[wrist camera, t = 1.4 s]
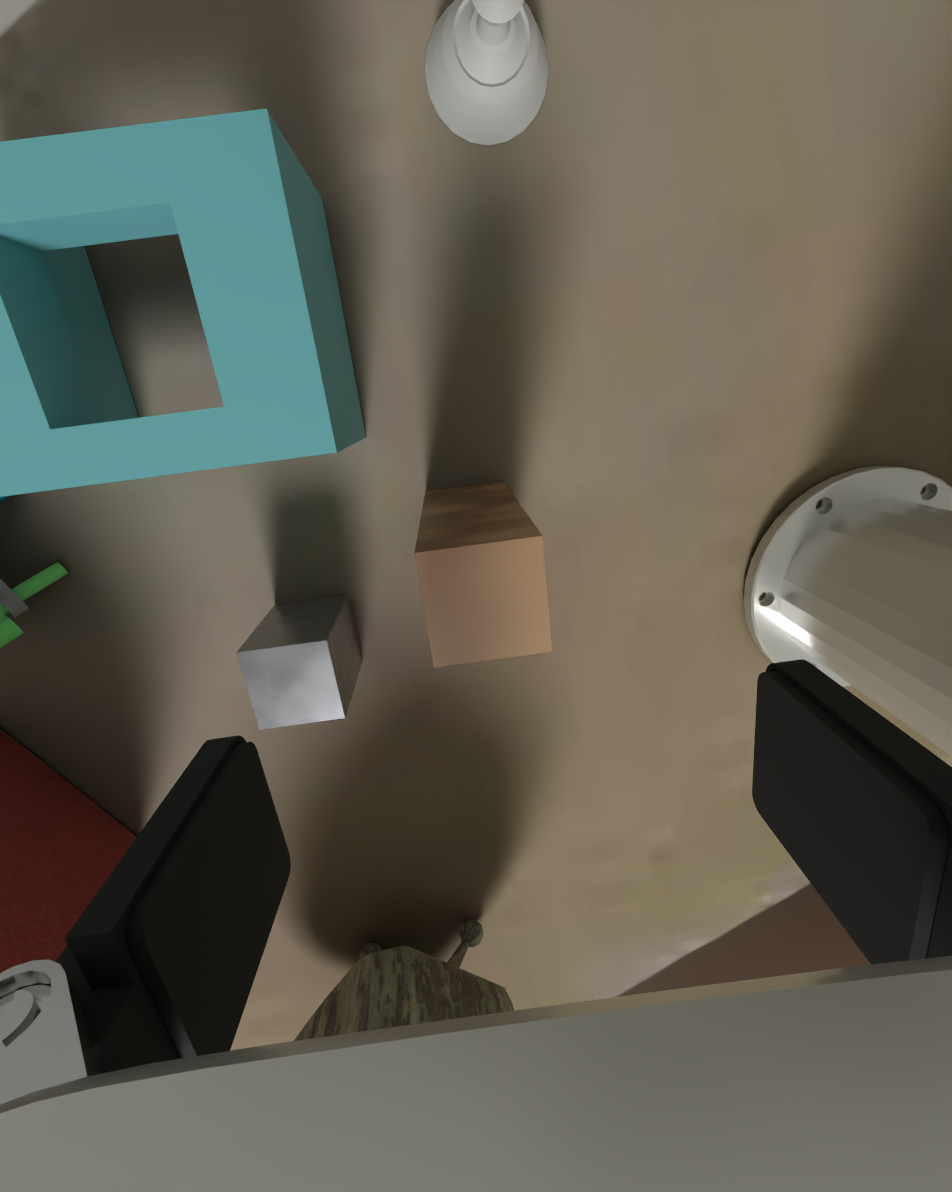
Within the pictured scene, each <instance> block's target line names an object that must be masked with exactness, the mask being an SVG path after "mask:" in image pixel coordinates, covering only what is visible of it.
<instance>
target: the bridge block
mask: <svg viewBox="0 0 952 1192" xmlns="http://www.w3.org/2000/svg"><path fill="white" fill-rule="evenodd" d="M173 234H179V238H180V242H181V246H182V250H183V253H184V257H185V261H186V265H187V268H188V272H189V276H190V280H191V284H192V287H193V291H194V295H195V299H196V303H197V306H198V310H199V314H200V318H201V322H202V325H203V329H204V333H205V337H206V340H207V344H208V348H209V352H210V356H211V359H212V363H213V367H214V371H215V375H216V378H217V382H218V386H219V390H220V394H221V397H222V401H223V405H224V407H218V408H210V409H202V410H195V411H187V412H179V413H172V414H164V415H156V416H149V417H141V418H139V417H138V414H137V411H136V408H135V404H134V401H133V398H132V395H131V392H130V389H129V385H128V382H127V379H126V376H125V373H124V370H123V366H122V363H121V360H120V357H119V354H118V351H117V347H116V344H115V341H114V338H113V335H112V332H111V328H110V325H109V322H108V319H107V316H106V313H105V309H104V306H103V303H102V300H101V297H100V294H99V290H98V287H97V284H96V281H95V278H94V275H93V271H92V268H91V265H90V262H89V259H88V256H87V252H86V249H85V246H87V245H94V244H102V243H110V242H118V241H126V240H134V239H142V238H149V237H157V236H165V235H173ZM364 438H366V434H365V429H364V424H363V418H362V413H361V407H360V402H359V396H358V391H357V386H356V380H355V375H354V369H353V364H352V358H351V353H350V347H349V342H348V337H347V331H346V326H345V320H344V315H343V309H342V304H341V299H340V293H339V288H338V282H337V277H336V271H335V266H334V261H333V255H332V250H331V244H330V239H329V233H328V228H327V223H326V217H325V212H324V206H323V201H322V198H321V196H320V195H319V193H318V191H317V190H316V188H315V186H314V185H313V183H312V181H311V180H310V178H309V177H308V175H307V173H306V172H305V170H304V168H303V167H302V165H301V163H300V162H299V160H298V159H297V157H296V155H295V154H294V152H293V150H292V149H291V147H290V145H289V144H288V142H287V141H286V139H285V137H284V136H283V134H282V132H281V131H280V129H279V127H278V126H277V124H276V123H275V121H274V119H273V118H272V116H271V114H270V113H269V111H268V109H267V108H266V109H258V110H250V111H242V112H234V113H226V114H218V115H210V116H202V117H194V118H186V119H178V120H170V121H162V122H154V123H146V124H138V125H130V126H122V127H114V128H106V129H98V130H90V131H82V132H74V133H66V134H58V135H50V136H42V137H34V138H26V139H18V140H10V141H2V142H0V497H3V496H11V495H18V494H26V493H33V492H41V491H49V490H56V489H64V488H71V487H79V486H87V485H94V484H102V483H109V482H117V481H125V480H132V479H140V478H147V477H155V476H163V475H170V474H178V473H185V472H193V471H201V470H208V469H216V468H223V467H231V466H239V465H246V464H254V463H261V462H269V461H276V460H284V459H292V458H299V457H307V456H314V455H322V454H330V453H337V452H339V451H341V450H343V449H345V448H346V447H348V446H350V445H352V444H354V443H356V442H358V441H360V440H362V439H364Z"/></svg>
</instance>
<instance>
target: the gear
mask: <svg viewBox="0 0 952 1192" xmlns="http://www.w3.org/2000/svg"><path fill="white" fill-rule="evenodd" d="M7 497H9V496H3V497H0V501H1V500H3V499H5V498H7ZM66 574H68V572H67V571H66V570H65V568H64V567H63V566H62V565H61V564H59V563H58V562H56V563H55V564H53V565H51V566H50V567H48V568H46V569H45V570H43V571H41V572H40V573H38V574H36V575H35V576H33V577H31V578H29V579H28V580H26V581H24V582H23V583H21V584H19V585H18V586H16V587H14V588H13V589H10V588H9V587H8V586H7V585H6V584H5V583H4V582H3V581H2V580H1V579H0V648H2V647H3V646H5V645H6V644H8V643H9V642H11V641H12V640H14V639H15V638H17V637H19V636H20V635H22V634H23V633H24V632H23V631H22V630H21V629H20V628H19V627H18V626H17V625H16V624H15V623H14V622H13V621H12V620H11V619H9V618H8V617H7V616H6V615H7V614H10V615H11V616H12V617H13V618H15V617H17V616H18V615H20V614H22V613H23V612H25V611H26V610H28V609H29V608H28V607H27V606H26V604H25V603H24V602H23V601H24V600H26V599H27V598H29V597H30V596H32V595H34V594H35V593H37V592H39V591H40V590H42V589H44V588H45V587H47V586H48V585H50V584H52V583H53V582H55V581H57V580H58V579H60V578H62V577H63V576H65V575H66Z"/></svg>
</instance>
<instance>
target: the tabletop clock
mask: <svg viewBox="0 0 952 1192" xmlns="http://www.w3.org/2000/svg"><path fill="white" fill-rule="evenodd" d="M459 934H460V937H461V941H462V942H461V944H460V945H459V946H458V948H457V949H456V951H455V952H454V953H453V955H452V956H451V958H450V959H449V961H448V962H447V963H446V962H444V961H441V960H439V959H437V958H434V957H432V956H430V955H427V954H425V953H423V952H420V951H418V950H416V949H413V948H411V947H409V946H406V945H403V946H399V947H395V948H391V949H387V950H383V951H382V950H381V947H380V946H379V944H377V943H373V942H370V943H367V944H365V945H364V946H363V947H362V949H361V950H360V954H359V961H358V962H357V963H356V964H355V965H354V966H353V967H352V968H351V969H350V971H349V972H348V973H347V974H346V975H345V976H344V978H343V979H342V980H341V981H340V982H339V983H338V984H337V986H336V987H335V988H334V989H333V990H332V991H331V993H330V994H329V995H328V996H327V997H326V999H325V1000H324V1001H323V1003H322V1004H321V1005H320V1007H319V1008H318V1009H317V1010H316V1012H315V1013H314V1014H313V1016H312V1017H311V1018H310V1020H309V1021H308V1022H307V1024H306V1025H305V1026H304V1028H303V1029H302V1030H301V1032H300V1033H299V1035H298V1036H297V1037H296V1039H295V1041H299V1040H306V1039H313V1038H320V1037H327V1036H334V1035H342V1034H349V1033H356V1032H363V1031H370V1030H377V1029H385V1028H392V1027H399V1026H406V1025H413V1024H420V1023H428V1022H435V1021H442V1020H449V1019H456V1018H464V1017H471V1016H479V1015H486V1014H494V1013H501V1012H508V1011H514V1008H513V1005H512V1002H511V1000H510V998H509V996H508V994H507V992H506V990H505V988H504V987H502V986H500V985H497V984H495V983H493V982H490V981H488V980H486V979H483V978H481V977H479V976H476V975H474V974H472V973H469V972H467V971H465V970H462V969H460V968H459V967H460V965H461V962H462V960H463V958H464V956H465V953H466V951H467V949H468V946H469V947H474V946H476V945H478V944H479V943H480V942H481V940H482V937H483V929H482V926H481V924H480V923H479V922H478V921H477V920H473V919H470V920H468V921H466V922H464V923H463V924H462V926H461V929H460V933H459Z"/></svg>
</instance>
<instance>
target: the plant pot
mask: <svg viewBox="0 0 952 1192" xmlns="http://www.w3.org/2000/svg"><path fill="white" fill-rule="evenodd" d="M136 838H137V837H136V836H135V835H134V834H133V833H132V832H130V831H129V830H128V829H127V828H125V827H124V826H123V825H122V824H120V823H119V822H118V821H117V820H115V819H114V818H113V817H111V816H110V815H109V814H108V813H106V812H105V811H104V810H103V809H101V808H100V807H99V806H98V805H96V804H95V803H94V802H93V801H91V800H90V799H89V798H88V797H86V796H85V795H84V794H83V793H81V792H80V791H79V790H77V789H76V788H75V787H74V786H72V785H71V784H70V783H69V782H67V781H66V780H65V779H64V778H62V777H61V776H60V775H59V774H57V773H56V772H55V771H54V770H52V769H51V768H50V767H49V766H47V765H46V764H45V763H44V762H42V761H41V760H40V759H38V758H37V757H36V756H35V755H33V754H32V753H31V752H30V751H28V750H27V749H26V748H25V747H23V746H22V745H21V744H19V743H18V742H17V741H16V740H14V739H13V738H12V737H10V736H9V735H8V734H7V733H5V732H4V731H3V730H2V729H0V973H1V972H3V971H5V970H7V969H9V968H11V967H14V966H17V965H20V964H23V963H26V962H30V961H33V960H51V961H54V962H56V960H57V959H58V957H59V956H60V955H61V953H62V952H63V950H64V949H65V948H66V946H67V945H68V944H67V942H66V940H65V937H66V936H67V934H68V933H69V931H70V930H71V929H72V927H73V926H74V924H75V923H76V922H77V920H78V919H79V917H80V916H81V915H82V913H83V912H84V910H85V909H86V908H87V906H88V905H89V903H90V902H91V901H92V899H93V898H94V896H95V895H96V894H97V892H98V891H99V889H100V888H101V887H102V885H103V884H104V883H105V881H106V880H107V878H108V877H109V876H110V874H111V873H112V871H113V870H114V869H115V867H116V866H117V864H118V863H119V862H120V860H121V859H122V857H123V856H124V855H125V853H126V852H127V850H128V849H129V848H130V846H131V845H132V843H133V842H134V841H135V839H136Z"/></svg>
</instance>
